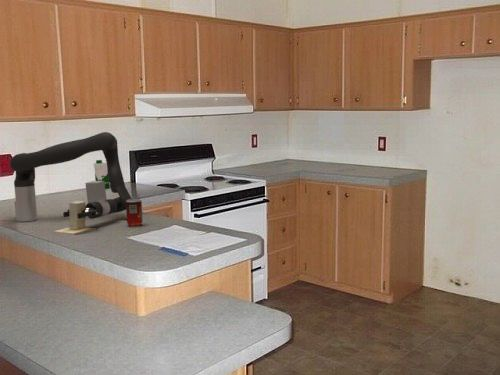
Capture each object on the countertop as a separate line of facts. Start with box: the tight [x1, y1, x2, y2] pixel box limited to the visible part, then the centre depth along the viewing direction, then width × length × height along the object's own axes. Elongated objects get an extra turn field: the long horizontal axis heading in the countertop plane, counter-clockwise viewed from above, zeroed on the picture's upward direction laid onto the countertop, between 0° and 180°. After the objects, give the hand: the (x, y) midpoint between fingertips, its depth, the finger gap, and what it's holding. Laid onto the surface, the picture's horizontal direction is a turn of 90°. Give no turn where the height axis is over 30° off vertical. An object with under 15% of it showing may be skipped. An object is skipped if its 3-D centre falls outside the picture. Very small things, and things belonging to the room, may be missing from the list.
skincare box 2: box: [84, 180, 107, 204], centre depth 284 cm, size 8×7×16 cm
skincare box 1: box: [68, 200, 86, 230], centre depth 236 cm, size 6×4×12 cm
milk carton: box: [93, 159, 111, 190], centre depth 369 cm, size 9×9×20 cm
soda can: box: [125, 198, 143, 228], centre depth 242 cm, size 7×7×12 cm
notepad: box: [54, 226, 96, 235], centre depth 235 cm, size 14×11×1 cm
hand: (70, 215), depth 230 cm, fingers open, 8 cm apart
